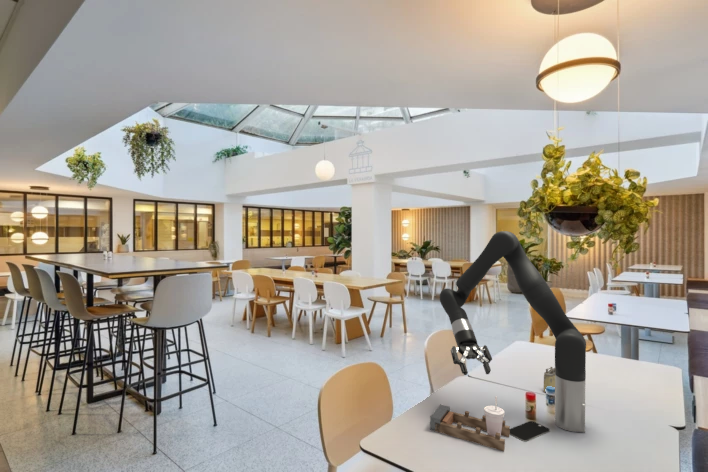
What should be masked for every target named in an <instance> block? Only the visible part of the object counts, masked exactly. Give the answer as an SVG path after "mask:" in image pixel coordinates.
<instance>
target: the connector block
mask: <svg viewBox="0 0 708 472" xmlns="http://www.w3.org/2000/svg"><path fill="white" fill-rule="evenodd" d="M450 409H451V407H450V406H448V405H445V404H440V405H439V406H438V407H437V408H436V409H435V411H433V413H432V414H431V415H430V417H429V419H430V420H429V421H430V422H429V430H430V431H433V432H436V431H435V427H436V426H437V425H440V423H441V422H442V420H443V419H444V418H445V416H446V415H447V414H448V412H449V411H451V410H450ZM435 423H436V426H435ZM437 423H438V424H437ZM437 428H438V427H437ZM438 431H439V430H438ZM438 433H440V432H438Z"/></svg>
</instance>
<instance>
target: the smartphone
mask: <svg viewBox="0 0 708 472" xmlns="http://www.w3.org/2000/svg"><path fill="white" fill-rule="evenodd" d="M550 432H551V429H550V428H549V427H546V426H544V425H542V424H541V423H538V422H535V421H534V420H533V421H532V420H529V421H527V422H525V423H522V424H519V425H516V426H514V427H510V436H512V437H514V438H515V439H517V440H519V441H521V442H523V443H524V442H525V443H527V442H529V441H532V440H534V439H535V438H538V437H541V436H544V435H545V434H548V433H550Z"/></svg>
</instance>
